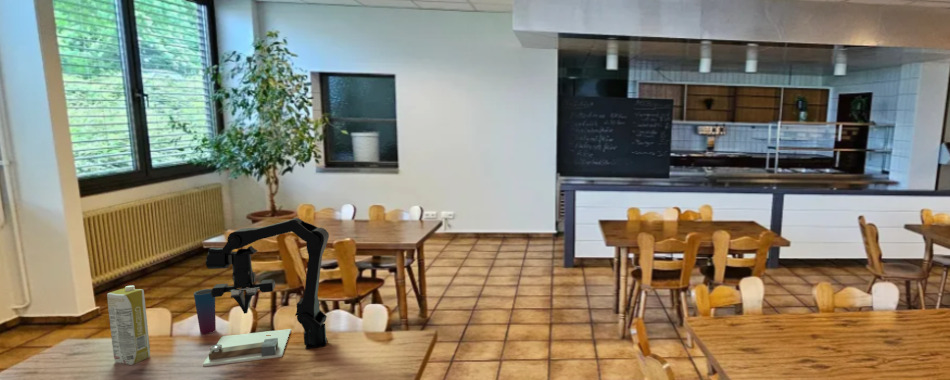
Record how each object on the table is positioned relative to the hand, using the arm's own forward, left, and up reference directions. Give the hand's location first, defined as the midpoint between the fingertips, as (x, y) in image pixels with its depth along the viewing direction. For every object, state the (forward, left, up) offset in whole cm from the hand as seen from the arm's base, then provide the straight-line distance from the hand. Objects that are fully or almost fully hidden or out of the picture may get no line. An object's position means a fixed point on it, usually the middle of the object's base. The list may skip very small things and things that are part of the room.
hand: (245, 313), depth 165 cm
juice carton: (+35, -1, -12) cm, 37 cm away
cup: (+18, -20, -12) cm, 29 cm away
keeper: (-8, +8, -12) cm, 17 cm away
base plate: (-1, 0, -12) cm, 12 cm away
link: (0, +7, -11) cm, 13 cm away
